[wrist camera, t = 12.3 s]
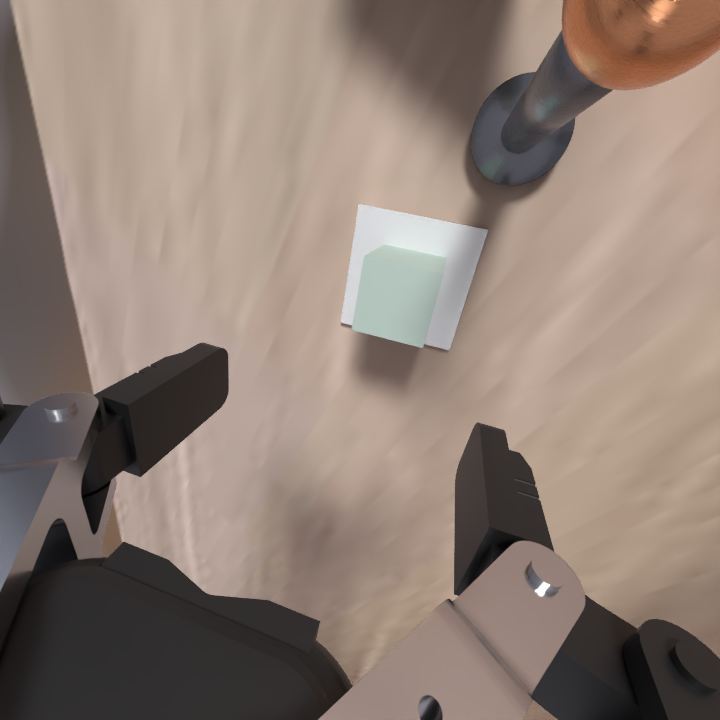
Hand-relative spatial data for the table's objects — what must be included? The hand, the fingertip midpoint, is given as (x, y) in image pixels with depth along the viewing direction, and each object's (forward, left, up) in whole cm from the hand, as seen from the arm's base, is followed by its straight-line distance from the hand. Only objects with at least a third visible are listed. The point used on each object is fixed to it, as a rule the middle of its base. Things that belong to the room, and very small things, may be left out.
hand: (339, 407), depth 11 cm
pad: (0, 0, -20) cm, 20 cm away
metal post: (-5, -11, -20) cm, 23 cm away
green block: (0, 0, -20) cm, 20 cm away
